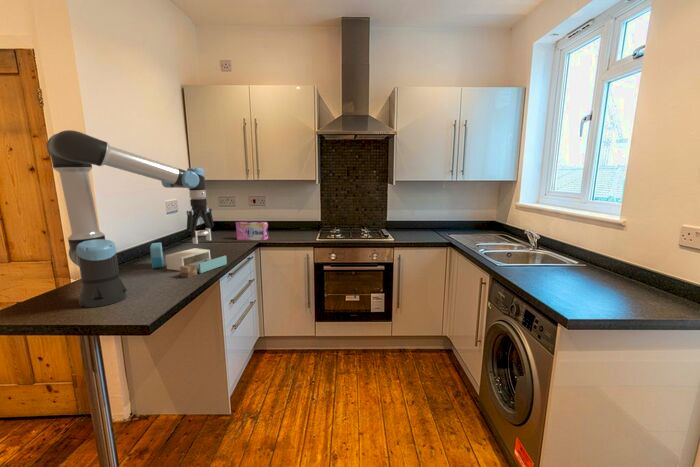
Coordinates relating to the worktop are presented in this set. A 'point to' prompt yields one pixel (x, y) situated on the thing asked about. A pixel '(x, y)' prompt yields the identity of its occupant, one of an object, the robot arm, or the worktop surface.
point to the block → (188, 270)
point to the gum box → (252, 230)
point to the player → (186, 258)
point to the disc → (203, 232)
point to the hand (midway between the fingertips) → (202, 241)
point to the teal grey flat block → (210, 264)
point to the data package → (156, 255)
